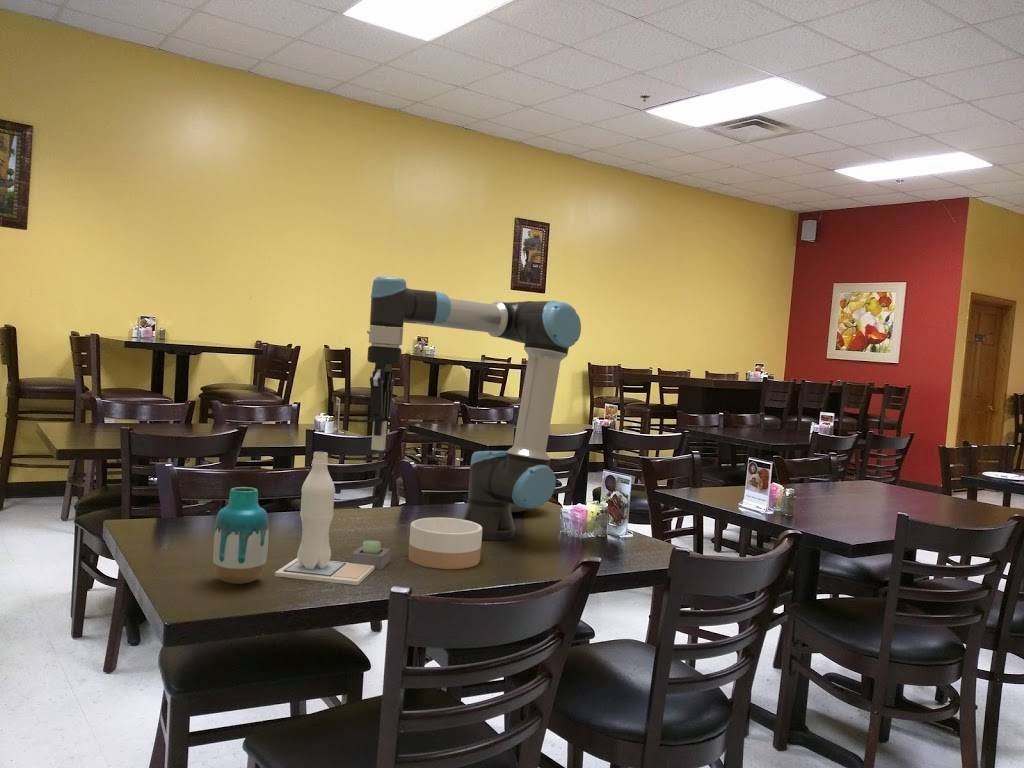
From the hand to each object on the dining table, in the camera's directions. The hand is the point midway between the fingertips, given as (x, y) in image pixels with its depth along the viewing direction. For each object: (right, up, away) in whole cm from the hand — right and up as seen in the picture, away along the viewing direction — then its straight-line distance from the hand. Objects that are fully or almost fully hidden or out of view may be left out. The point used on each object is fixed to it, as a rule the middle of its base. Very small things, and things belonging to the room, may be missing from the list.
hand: (378, 449), depth 189 cm
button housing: (-2, -26, +1) cm, 26 cm away
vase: (-25, -26, -19) cm, 41 cm away
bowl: (+14, -27, +11) cm, 33 cm away
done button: (-2, -25, +1) cm, 25 cm away
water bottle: (-13, -25, -8) cm, 29 cm away
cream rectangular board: (-10, -26, -8) cm, 29 cm away
